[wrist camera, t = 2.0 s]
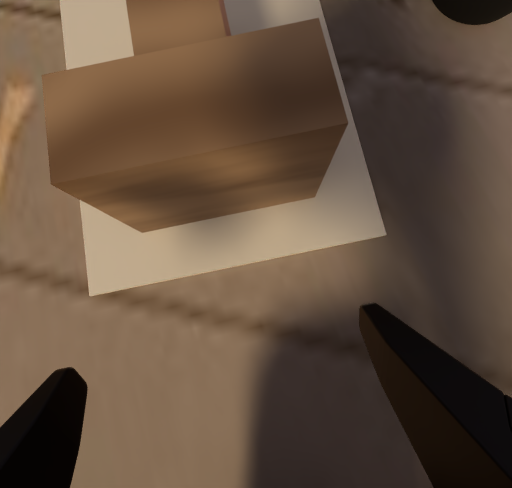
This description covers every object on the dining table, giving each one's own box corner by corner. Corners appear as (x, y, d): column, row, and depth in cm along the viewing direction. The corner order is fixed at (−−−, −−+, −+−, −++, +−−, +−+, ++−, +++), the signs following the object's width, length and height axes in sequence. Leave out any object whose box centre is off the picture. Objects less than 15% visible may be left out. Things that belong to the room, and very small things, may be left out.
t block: (116, 45, 24) (26, -104, 15) (269, 14, 24) (270, -155, 15) (141, 232, 21) (50, 184, 12) (314, 197, 21) (348, 122, 12)
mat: (60, -12, 25) (57, -16, 25) (300, -62, 25) (300, -66, 25) (92, 295, 21) (89, 296, 21) (384, 235, 21) (386, 234, 20)
